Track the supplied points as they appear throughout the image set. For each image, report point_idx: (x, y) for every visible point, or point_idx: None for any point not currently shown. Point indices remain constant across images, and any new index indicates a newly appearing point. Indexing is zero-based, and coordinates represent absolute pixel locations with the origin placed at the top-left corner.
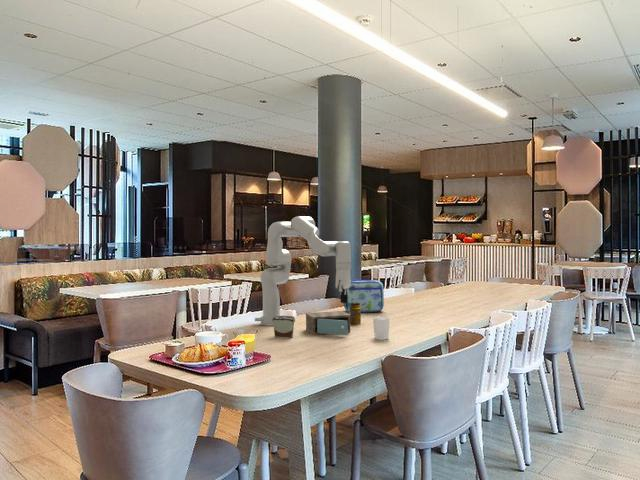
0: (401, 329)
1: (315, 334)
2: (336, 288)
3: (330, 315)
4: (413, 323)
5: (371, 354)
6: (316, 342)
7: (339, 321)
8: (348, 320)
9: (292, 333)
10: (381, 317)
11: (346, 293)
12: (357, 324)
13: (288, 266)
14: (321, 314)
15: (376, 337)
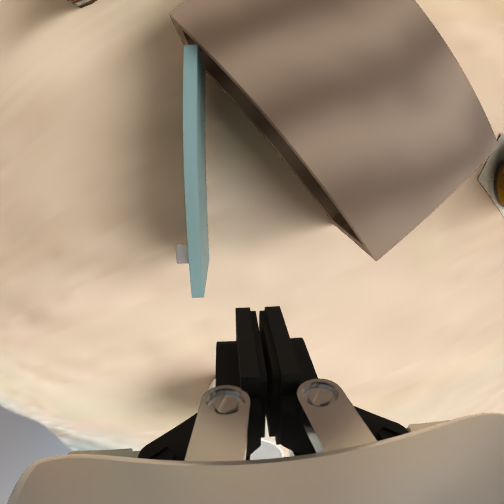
0: (420, 383)
1: None
2: (47, 461)
3: (308, 112)
4: (499, 366)
5: (23, 397)
6: (33, 166)
7: (188, 238)
8: (353, 237)
9: (72, 1)
10: (280, 449)
11: (288, 448)
12: (497, 198)
13: None
14: (329, 26)
15: (211, 387)
